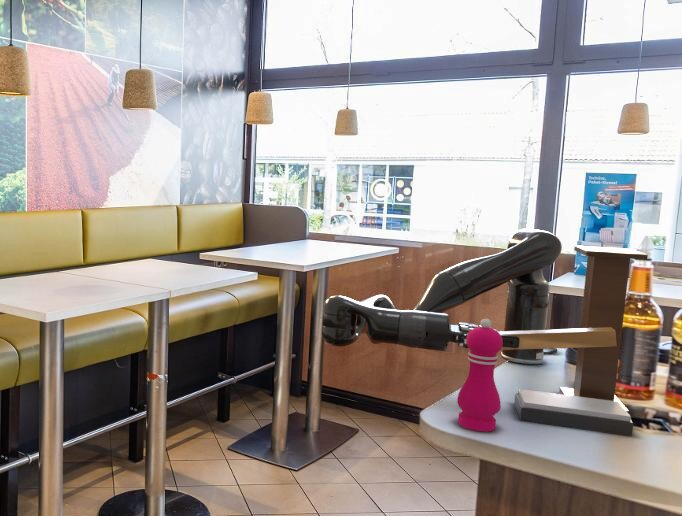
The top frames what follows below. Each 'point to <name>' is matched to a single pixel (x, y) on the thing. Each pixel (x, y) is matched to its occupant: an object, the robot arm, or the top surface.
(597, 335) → the beech stick
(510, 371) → the top surface
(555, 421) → the scale
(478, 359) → the pepper mill
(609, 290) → the stand
